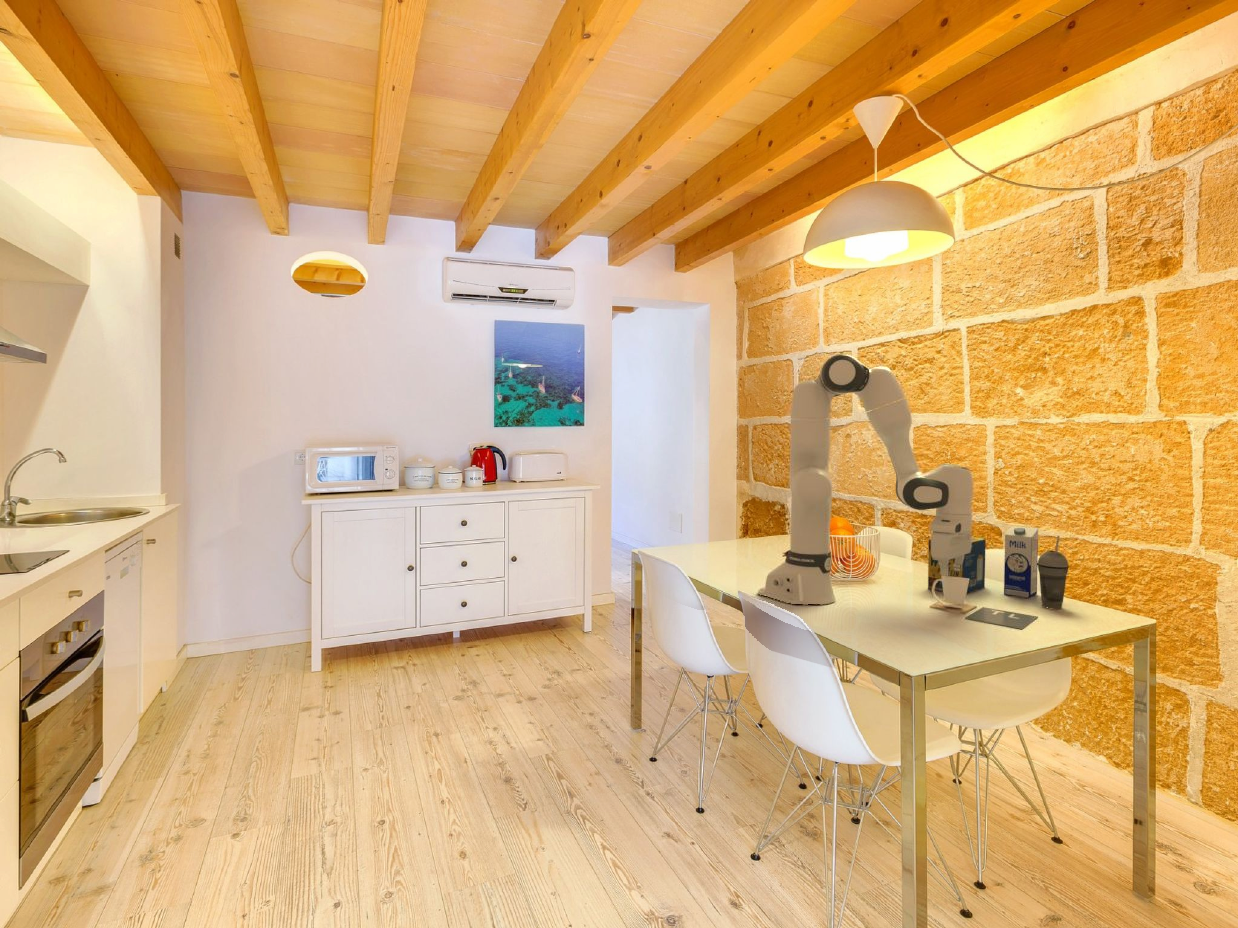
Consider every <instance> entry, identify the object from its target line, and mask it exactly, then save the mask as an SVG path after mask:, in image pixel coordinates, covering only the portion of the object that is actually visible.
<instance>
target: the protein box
mask: <svg viewBox="0 0 1238 928" xmlns="http://www.w3.org/2000/svg"><path fill="white" fill-rule="evenodd" d="M971 540H972V546H971V551H970V553H967V554H964V560H963V563H962V570H960V571H957V570H954V569H953V564H954V563H955V558H953V559H950V560H949V563H948V569H949V575H947V576H950V577H959V578H968V579H969V584H968V589H967V594H971V593H974V592H976V591H978V590H982V589H985V587H986V586H985V582H986V579H985V577H986V548H987V547H986V545H987V543H986V542H987V541H986V538H982V537H981V538H980V537H973V536H971ZM927 551H928V552H927V553H928V554H927V555H928V560H927V562H928V564H927V568H928V569H927V589H928V590H931V591H932V586H933V583H934V582H935V581H936V580H937V579H942V576H943V575H941V574H940V566H939V561H938V560H933V558H932V556H931V538H930V539H929V540H928V550H927ZM934 591H937V592H942V593H943V585H942V581H938V582H937V583H936V585H935V590H934Z"/></svg>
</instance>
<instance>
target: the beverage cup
mask: <svg viewBox="0 0 1238 928" xmlns="http://www.w3.org/2000/svg"><path fill="white" fill-rule="evenodd" d="M1059 542H1060V535H1057V536H1056V542H1055V549H1054V550H1048V551H1044V552H1043V553H1042V554H1041V555H1039V558H1038V563H1037V571H1038V574H1039V587H1040V599H1041V606H1042V607H1043V606H1044V607H1043V608H1045V607H1048V608H1047V609H1049V608H1052V609H1051V610H1062V609H1063V604H1064V597H1065V589H1066V582H1067V581H1066V580H1067V575H1068V571H1069V568H1070V566H1069V561H1068V560H1067V558H1066V556H1065V555H1064V554H1063V553H1061V552H1059V551H1058V548H1059ZM1061 608H1062V609H1061Z"/></svg>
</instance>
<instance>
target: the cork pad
mask: <svg viewBox="0 0 1238 928" xmlns="http://www.w3.org/2000/svg"><path fill="white" fill-rule="evenodd" d="M940 600H941V601H942V602H943V603H944V604H947V605H956V606H962V607H963V608H956V607H949V606H945V605H943V604H941V603H940V602H939V601H937V602H935V603H933V604H931V605H929V608H930V609H935V610H940V611H945V612H951V613H957V614H962V615H966V614H967V613H969V612H971V611H973V610H975V609H976V608H977V605H974V604H971V603H970V604H969V603H964V604H955V603H948V602H945V599H940Z"/></svg>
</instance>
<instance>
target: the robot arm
mask: <svg viewBox="0 0 1238 928" xmlns="http://www.w3.org/2000/svg"><path fill="white" fill-rule="evenodd" d="M849 393H850V394H851V393H853V394H855V395H857V397H858V398H859V399H860V401H861V402H862V405H863V408H864V411H865V412H866V413H865V414H866V417H867V419H868V420H869V422H870V425H871V427H872V428H873V430H874V432H875V433H876V435H878V437H879V438H880V440H881V441H882V443H883V445H884V446H885V448H886V450H887V453H888V455H889V459H890V462H891V464H892V466H893V469H894V473H895V478H896V480H895V481H896V482H895V495H896V498H897V499H898V500H899V501H900V502H901V503H902V504H903V505H905V506H907V507H909V508H910V509H913V510H916V511H927V510H934V509H935V516H934V519H932V521H931V522H930V524H929V531H930V532H931V535H930V539H931V556H932V558H933V560H938V561H939V566H940V574H941V575H943V576H947V575H949V569H948V563H949V560H950V559H953V558H955V563H954V564H953V569H954V570H957V571H960V570H962V563H963V560H964V554H967V553H970V551H971V546H972V540H971V537H972V522H973V511H972V506H971V505H972V501H973V498H974V482H973V480H974V479H973V473H972V471H971V470H970V469H969V468H968V467H965V466H961V465H956V464H951V463H942V464H941V465H939V466H938V467H936V468H934V469H932V470H928V471H926V472H924V473H923V471H922V470H921V469H920V467H919V465H918V463H917V459H916V457H915V453H914V452H913V449H912V445H911V442H910V430H911V427H912V423H913V420H912V413H911V409H910V405H909V402H908V399H907V397H906V395H905V392H904V390H903V388H902V386H901V384H900V382H899V380H898V379H897V377H896V375H895V374H894V373H893V371H892V370H891V369H890V368H889V367H886V366H875V367H871V368H869V367H868V366H866V364H863V363H862V362H861V361H860V360H858V359H857V357H854V356H852V355H850V354H846V353H839V354H836V355H833V356H831V357H829V358H828V359H827V360H826V361H825V362H824V364H823V365H822V367H821V369H820V372H819V375H818V376H817V377H816V378H814V379H809V380H808V379H807V380H803V381H802V382H799V383H798V384H796V385H795V387H794V389H793V393H792V399H791V405H790V450H789V453H790V454H789V478H788V479H789V480H788V481H789V482H788V483H789V488H790V493H791V502H790V503H791V504H790V505H791V506H790V508H791V509H790V524H789V525H790V530H789V531H790V533H789V534H790V539H789V540H790V548H789V549H788V550H786V551H785V552H782V553H781V554H782V557H785V558H784V559H785V560H784V562H782V563H781V564H780V565H778V566H777V567H776V568H774V569H772V570H771V571H770V572H768V574H767V576H766V580H765V586H763V587H761V588H759V589H758V590H757V595H758V594H760V595H759V596H761V595H766V596H768V597H771V598H775V599H777V600H776V601H778V600H780V601H779V602H782V601H785V602H786V604H788V603H791V604H790V605H792V604H803V605H808V604H820V605H827V604H833V603H834V602H835V601H836V597H835V594H834V589H833V584H832V575H831V571H832V552H831V548H830V544H831V541H830V539H831V538H830V537H831V535H830V534H831V531H830V530H831V514H832V502H833V501H832V500H833V483H832V479H831V478H830V476H829V460H830V449H831V405H832V404H831V403H832V402H833V401H832V400H833V399H834V398H836V397H838V396H842V395H847V394H849ZM768 597H767V598H768ZM771 598H770V599H771ZM775 599H774V600H775ZM785 602H784V603H785Z"/></svg>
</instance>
